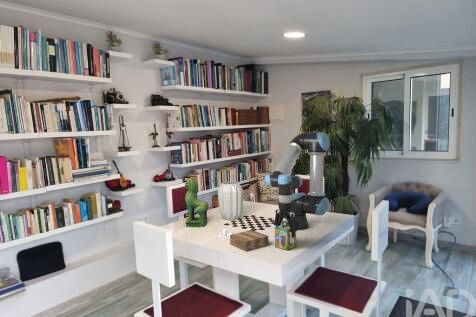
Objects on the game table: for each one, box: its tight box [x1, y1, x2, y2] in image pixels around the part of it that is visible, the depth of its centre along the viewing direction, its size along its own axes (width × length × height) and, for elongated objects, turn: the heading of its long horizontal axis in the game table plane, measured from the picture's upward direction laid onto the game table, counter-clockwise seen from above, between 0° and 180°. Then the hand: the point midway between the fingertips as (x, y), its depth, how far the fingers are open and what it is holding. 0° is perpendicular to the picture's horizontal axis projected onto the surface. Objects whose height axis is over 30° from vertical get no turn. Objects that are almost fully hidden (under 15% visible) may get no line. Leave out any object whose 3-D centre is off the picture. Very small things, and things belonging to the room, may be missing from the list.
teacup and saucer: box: [218, 228, 233, 238], centre depth 215 cm, size 9×8×4 cm
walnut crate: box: [229, 229, 270, 253], centre depth 196 cm, size 16×16×6 cm
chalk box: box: [274, 219, 297, 251], centre depth 190 cm, size 9×9×15 cm
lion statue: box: [184, 176, 209, 228], centre depth 240 cm, size 14×17×35 cm
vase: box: [217, 181, 244, 221], centre depth 256 cm, size 20×20×28 cm
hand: (285, 240), depth 191 cm, fingers closed on chalk box, 10 cm apart
